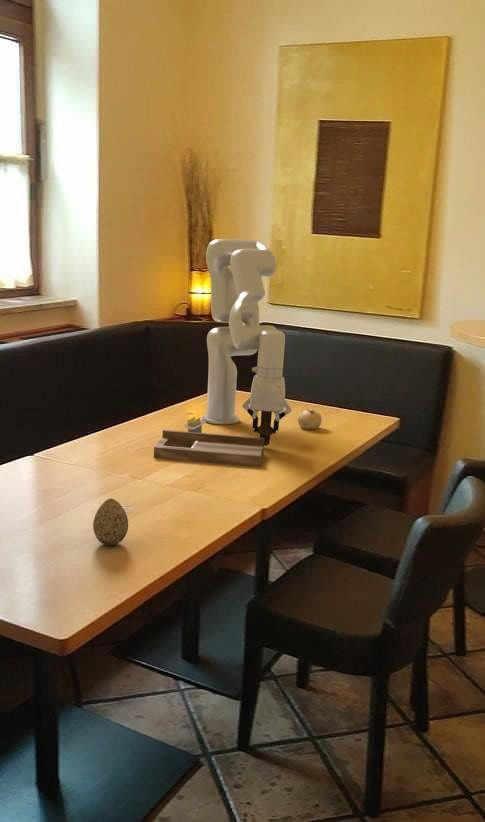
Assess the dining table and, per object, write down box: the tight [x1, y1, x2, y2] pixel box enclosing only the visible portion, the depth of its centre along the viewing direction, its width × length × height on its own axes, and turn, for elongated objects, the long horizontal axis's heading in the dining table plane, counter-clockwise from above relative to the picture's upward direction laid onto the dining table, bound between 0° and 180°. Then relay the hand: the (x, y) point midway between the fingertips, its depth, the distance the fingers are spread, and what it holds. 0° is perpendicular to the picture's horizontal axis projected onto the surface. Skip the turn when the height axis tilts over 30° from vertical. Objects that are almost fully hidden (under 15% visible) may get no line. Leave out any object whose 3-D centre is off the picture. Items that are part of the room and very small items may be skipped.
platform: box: [183, 416, 207, 433], centre depth 250 cm, size 12×18×7 cm, turn 160°
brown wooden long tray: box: [153, 429, 265, 468], centre depth 232 cm, size 12×30×5 cm, turn 83°
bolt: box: [256, 411, 274, 447], centre depth 242 cm, size 6×5×15 cm
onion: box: [297, 408, 323, 430], centre depth 269 cm, size 8×8×7 cm
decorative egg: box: [92, 498, 129, 547], centre depth 167 cm, size 7×7×10 cm
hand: (265, 431), depth 242 cm, fingers closed on bolt, 5 cm apart
